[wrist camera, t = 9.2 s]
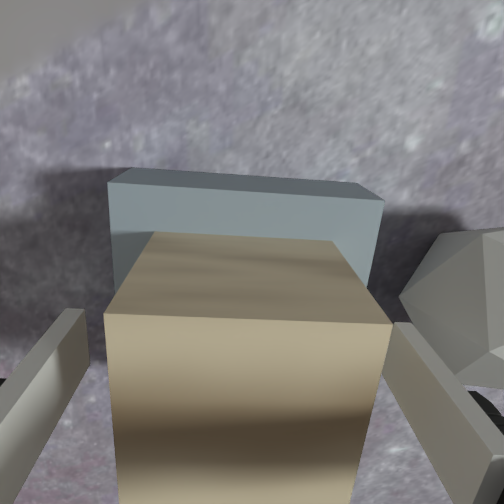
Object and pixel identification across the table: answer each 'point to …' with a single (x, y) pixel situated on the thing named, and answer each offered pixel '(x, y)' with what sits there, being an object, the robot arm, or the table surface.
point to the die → (462, 304)
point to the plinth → (240, 212)
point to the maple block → (241, 371)
